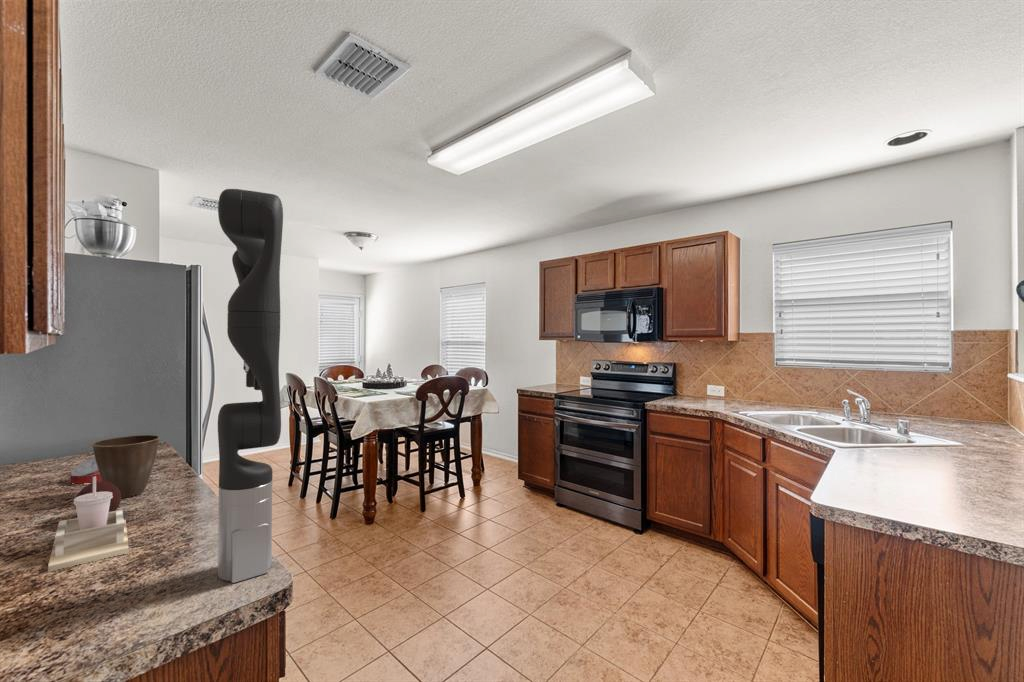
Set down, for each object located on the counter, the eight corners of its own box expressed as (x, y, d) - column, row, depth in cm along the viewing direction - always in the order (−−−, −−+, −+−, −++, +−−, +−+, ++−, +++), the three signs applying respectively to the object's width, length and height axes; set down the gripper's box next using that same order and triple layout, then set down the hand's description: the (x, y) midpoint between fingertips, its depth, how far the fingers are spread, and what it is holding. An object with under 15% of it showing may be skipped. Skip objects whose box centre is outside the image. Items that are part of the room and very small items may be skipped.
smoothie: (78, 548, 95) (78, 482, 95) (68, 541, 99) (69, 477, 99) (117, 537, 101) (117, 475, 101) (106, 531, 104) (107, 470, 104)
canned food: (108, 494, 146) (110, 470, 143) (65, 497, 140) (66, 472, 137) (115, 470, 154) (117, 447, 151) (75, 472, 149) (76, 448, 145)
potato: (72, 530, 108) (73, 491, 108) (76, 515, 117) (76, 479, 117) (120, 520, 113) (121, 483, 113) (120, 507, 122) (121, 473, 122)
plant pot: (80, 506, 123) (80, 447, 123) (108, 489, 137) (109, 436, 137) (146, 500, 128) (146, 443, 128) (167, 484, 142) (167, 433, 142)
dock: (128, 553, 96) (128, 528, 96) (48, 572, 88) (48, 545, 88) (125, 524, 111) (125, 503, 111) (56, 538, 103) (56, 515, 103)
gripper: (233, 326, 120) (232, 387, 120) (245, 325, 110) (244, 391, 110) (264, 327, 125) (263, 385, 125) (279, 326, 115) (278, 389, 115)
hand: (254, 388), depth 117 cm, fingers open, 8 cm apart
